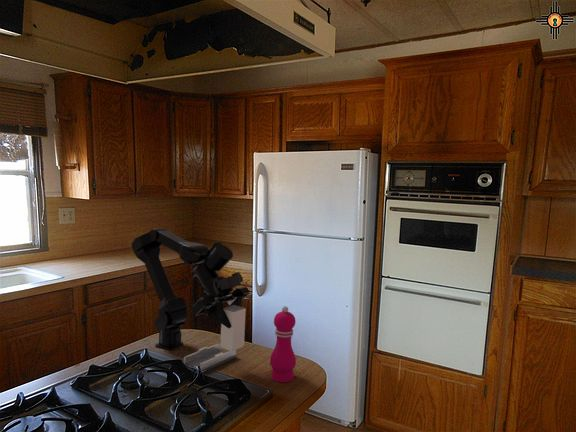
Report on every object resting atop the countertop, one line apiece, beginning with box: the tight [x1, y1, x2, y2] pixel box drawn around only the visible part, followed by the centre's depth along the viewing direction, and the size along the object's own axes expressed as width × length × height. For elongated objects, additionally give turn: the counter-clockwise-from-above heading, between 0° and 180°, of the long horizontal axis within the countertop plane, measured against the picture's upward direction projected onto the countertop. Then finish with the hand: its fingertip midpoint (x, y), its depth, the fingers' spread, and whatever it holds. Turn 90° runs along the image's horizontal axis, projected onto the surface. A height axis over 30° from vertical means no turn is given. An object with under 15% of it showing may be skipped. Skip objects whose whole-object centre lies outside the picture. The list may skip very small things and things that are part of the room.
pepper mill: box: [269, 305, 297, 383], centre depth 108 cm, size 7×7×20 cm
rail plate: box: [182, 342, 237, 371], centre depth 117 cm, size 8×14×3 cm, turn 145°
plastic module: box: [219, 305, 247, 351], centre depth 112 cm, size 4×5×11 cm
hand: (236, 325), depth 111 cm, fingers closed on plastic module, 5 cm apart
